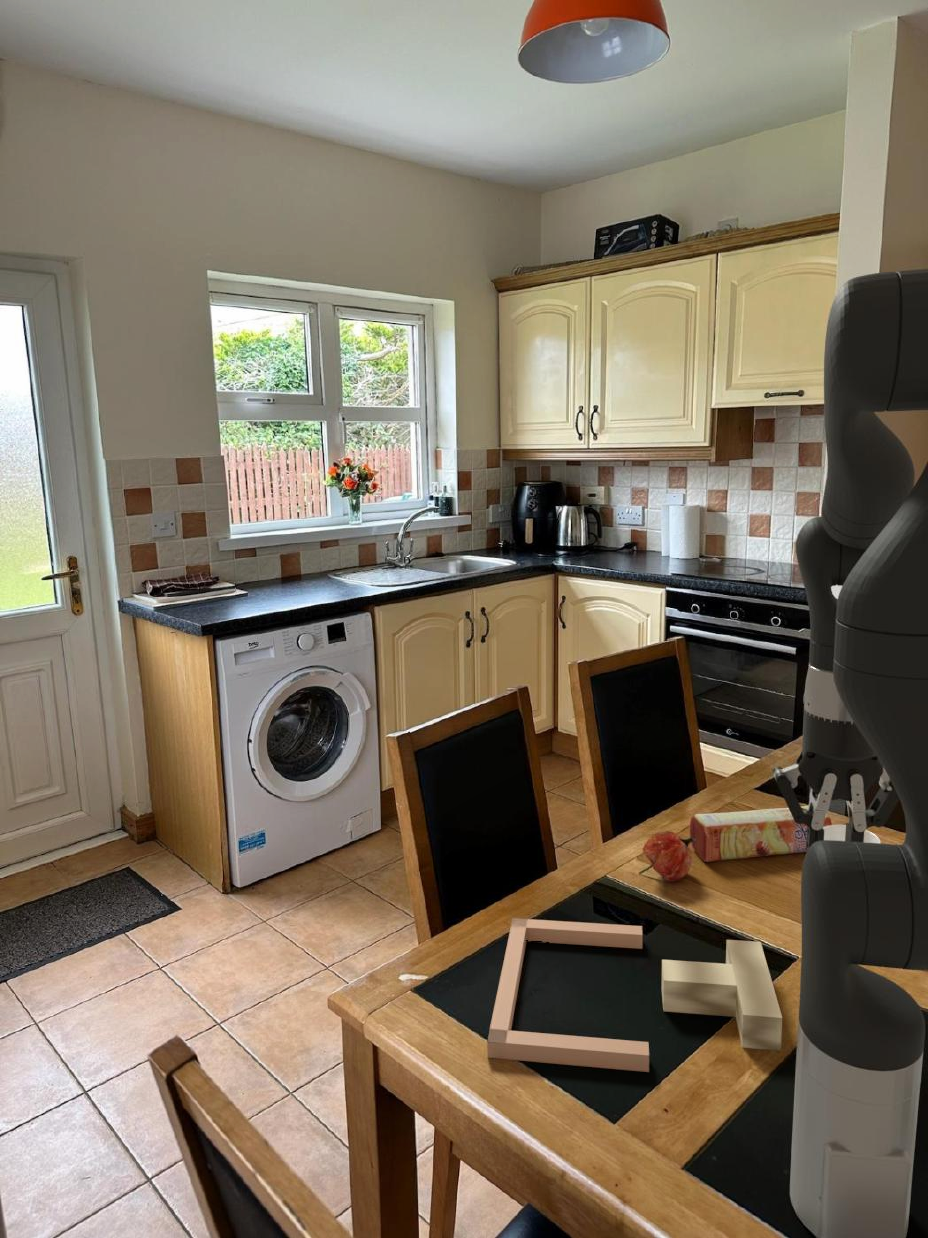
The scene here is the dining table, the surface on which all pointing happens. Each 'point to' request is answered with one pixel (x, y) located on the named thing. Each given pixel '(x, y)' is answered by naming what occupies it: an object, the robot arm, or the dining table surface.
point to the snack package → (748, 834)
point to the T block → (728, 992)
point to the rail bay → (554, 1045)
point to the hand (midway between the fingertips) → (833, 857)
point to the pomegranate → (668, 855)
